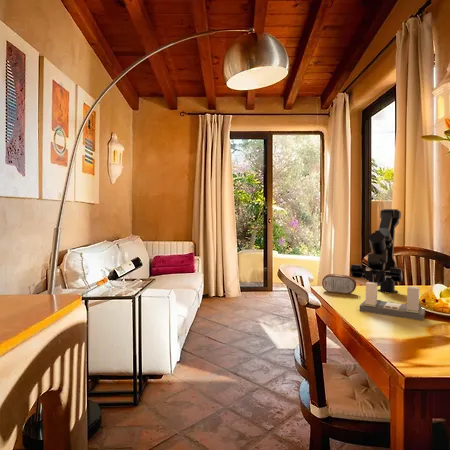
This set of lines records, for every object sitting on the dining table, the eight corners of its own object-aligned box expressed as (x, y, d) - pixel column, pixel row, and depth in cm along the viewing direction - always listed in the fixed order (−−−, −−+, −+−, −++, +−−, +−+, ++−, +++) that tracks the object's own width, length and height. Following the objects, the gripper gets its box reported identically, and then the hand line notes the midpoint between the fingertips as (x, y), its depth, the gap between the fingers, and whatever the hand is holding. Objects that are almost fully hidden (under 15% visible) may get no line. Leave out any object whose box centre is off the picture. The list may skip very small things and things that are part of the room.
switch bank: (366, 303, 142) (366, 298, 142) (425, 312, 130) (425, 306, 130) (359, 310, 132) (359, 304, 132) (422, 320, 120) (423, 313, 120)
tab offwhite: (367, 302, 135) (367, 281, 135) (376, 303, 133) (377, 282, 133) (365, 303, 132) (365, 283, 132) (375, 305, 130) (375, 284, 130)
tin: (356, 293, 159) (356, 275, 159) (355, 295, 156) (355, 276, 156) (322, 290, 166) (322, 273, 165) (321, 292, 163) (321, 274, 162)
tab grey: (407, 307, 127) (408, 286, 127) (418, 309, 125) (419, 287, 125) (406, 309, 125) (407, 287, 125) (417, 311, 123) (418, 288, 123)
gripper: (351, 244, 143) (343, 275, 134) (402, 247, 132) (397, 281, 124) (356, 261, 150) (348, 291, 141) (404, 265, 139) (399, 298, 131)
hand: (372, 290), depth 134 cm, fingers closed, pressing on tab offwhite
